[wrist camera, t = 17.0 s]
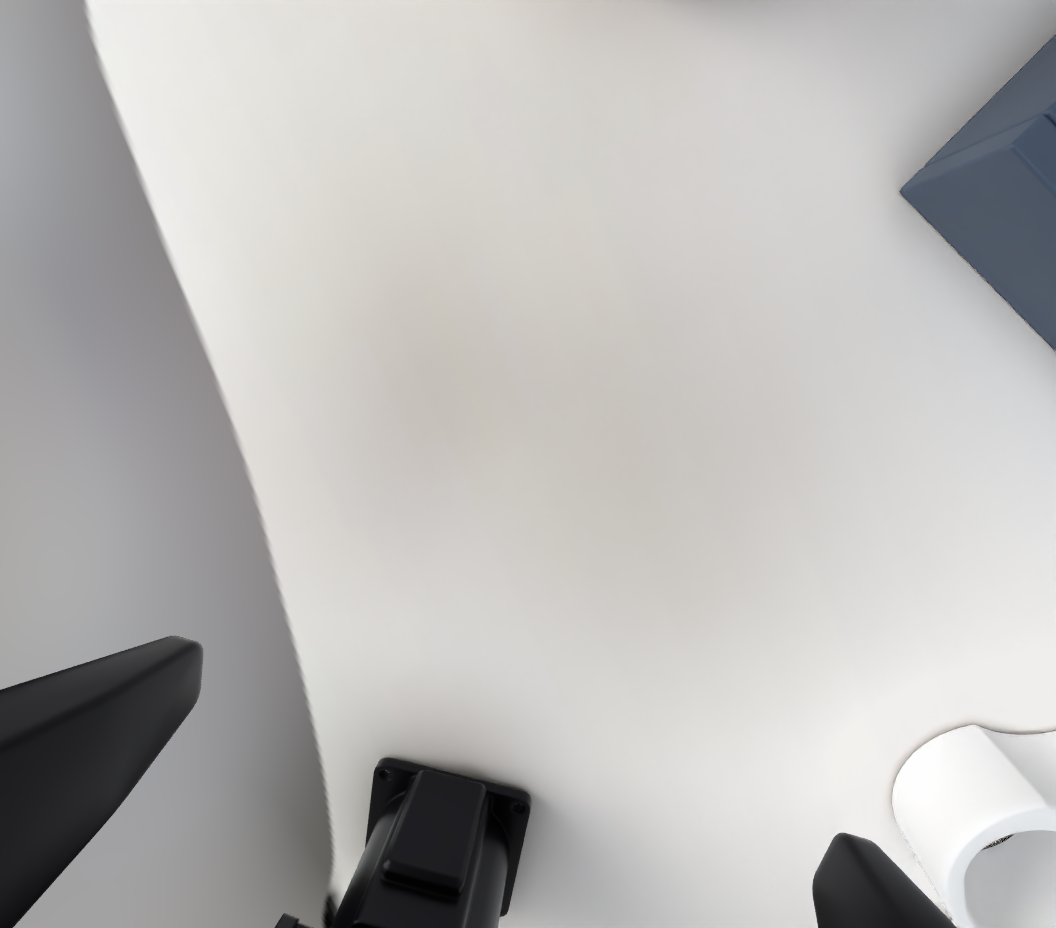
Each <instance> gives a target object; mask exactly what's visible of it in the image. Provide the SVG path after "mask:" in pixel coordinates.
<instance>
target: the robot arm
mask: <svg viewBox="0 0 1056 928" xmlns="http://www.w3.org/2000/svg"><path fill="white" fill-rule="evenodd" d="M202 664H203V648H202V645H201V644H200V643H198V642H196V641H193V640H189V639H186V638H183V637H179V636H170V637H166V638H163V639H159V640H156V641H153V642H150V643H147V644H144V645H140V646H137V647H134V648H131V649H128V650H125V651H121V652H118V653H115V654H112V655H109V656H106V657H103V658H99V659H96V660H93V661H90V662H87V663H84V664H80V665H77V666H74V667H71V668H68V669H65V670H61V671H58V672H55V673H52V674H49V675H46V676H43V677H39V678H36V679H33V680H30V681H27V682H24V683H20V684H17V685H14V686H11V687H8V688H5V689H2V690H0V928H13V927H14V926H15V925H16V924H17V922H18V921H19V920H20V919H21V918H22V917H23V916H24V915H25V913H26V912H27V911H28V910H29V909H30V908H31V907H32V906H33V904H34V903H35V902H36V901H37V900H38V899H39V898H40V897H41V895H42V894H43V893H44V892H45V891H46V890H47V889H48V888H49V886H50V885H51V884H52V883H53V882H54V881H55V880H56V878H57V877H58V876H59V875H60V874H61V873H62V872H63V871H64V869H65V868H66V867H67V866H68V865H69V864H70V863H71V862H72V860H73V859H74V858H75V857H76V856H77V855H78V854H79V853H80V851H81V850H82V849H83V848H84V847H85V846H86V845H87V843H88V842H89V841H90V840H91V839H92V838H93V837H94V836H95V835H96V833H97V832H98V831H99V830H100V829H101V828H102V826H103V825H104V824H105V823H106V822H107V821H108V819H109V818H110V817H111V816H112V815H113V813H114V812H115V811H116V810H117V809H118V807H119V806H120V805H121V803H122V802H123V801H124V800H125V798H126V797H127V796H128V795H129V793H130V792H131V791H132V789H133V788H134V787H135V785H136V784H137V783H138V781H139V780H140V779H141V777H142V776H143V775H144V773H145V772H146V770H147V769H148V768H149V766H150V765H151V764H152V762H153V761H154V760H155V758H156V757H157V756H158V754H159V753H160V752H161V750H162V749H163V748H164V746H165V745H166V744H167V742H168V741H169V740H170V738H171V737H172V735H173V734H174V733H175V732H176V730H177V729H178V727H179V726H180V725H181V723H182V722H183V721H184V719H185V718H186V717H187V715H188V714H189V713H190V711H191V710H192V709H193V707H194V705H195V704H196V702H197V699H198V697H199V694H200V689H201V677H202ZM385 770H387V771H389V772H390V773H389V772H386V771H385ZM515 803H519V804H521V805H517V804H515ZM530 808H531V798H530V796H529V795H528V794H527V793H526V792H524V791H521V790H517V789H513V788H509V787H505V786H501V785H497V784H493V783H489V782H485V781H481V780H477V779H473V778H469V777H465V776H461V775H457V774H453V773H449V772H445V771H441V770H437V769H433V768H429V767H425V766H421V765H417V764H413V763H409V762H405V761H401V760H397V759H393V758H383V759H381V760H380V761H379V762H378V764H377V766H376V768H375V771H374V776H373V784H372V793H371V802H370V810H369V819H368V828H367V836H366V845H365V851H364V853H363V855H362V857H361V860H360V862H359V864H358V866H357V869H356V871H355V873H354V875H353V878H352V880H351V882H350V884H349V887H348V889H347V891H346V893H345V896H344V898H343V900H342V903H341V905H340V907H339V909H338V912H337V914H336V916H335V918H334V921H333V923H332V925H331V927H330V928H498V923H499V918H500V917H502V916H504V915H506V914H507V912H508V909H509V905H510V900H511V896H512V891H513V887H514V882H515V877H516V873H517V868H518V864H519V859H520V855H521V850H522V846H523V841H524V837H525V832H526V828H527V823H528V819H529V814H530ZM812 889H813V900H814V906H815V912H816V917H817V923H818V928H957V927H956V926H955V925H954V924H953V923H952V922H951V921H950V920H949V919H948V918H947V917H946V916H945V915H944V914H943V913H942V911H941V910H940V909H939V908H938V907H937V906H936V905H935V904H934V903H933V902H932V901H931V900H930V899H929V898H928V897H927V896H926V895H925V894H924V893H923V892H922V891H921V890H920V889H919V888H918V887H917V886H916V885H915V884H914V883H913V882H912V881H911V880H910V879H909V878H908V876H907V875H906V874H905V873H904V872H903V871H902V870H901V869H900V868H899V867H898V866H897V865H896V864H895V863H894V862H893V861H892V860H891V859H890V858H889V857H888V856H887V855H886V854H885V853H884V852H883V851H882V850H881V849H880V848H879V847H878V846H877V845H876V844H875V843H873V842H872V841H870V840H868V839H864V838H861V837H858V836H854V835H851V834H847V833H839V834H837V835H836V836H835V837H834V838H833V840H832V842H831V844H830V846H829V848H828V850H827V852H826V853H825V855H824V857H823V859H822V861H821V863H820V865H819V867H818V869H817V871H816V873H815V875H814V879H813V887H812ZM275 928H313V927H310V926H307V925H305V924H302V923H299V918H296V917H294V916H290V915H288V914H285V913H284V914H283V915H282V917H281V919H280V920H279V922H278V923H277V925H276V927H275Z"/></svg>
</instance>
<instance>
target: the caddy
mask: <svg viewBox="0 0 1056 928" xmlns="http://www.w3.org/2000/svg"><path fill="white" fill-rule="evenodd" d="M900 193H901V194H902V195H903V196H904V197H905V198H906V199H907V200H908V201H909V202H910V203H911V204H912V205H913V206H914V207H915V208H916V209H917V210H918V211H919V212H920V213H921V214H922V215H923V216H924V217H925V219H926V220H927V221H928V222H929V223H930V224H931V225H932V226H933V227H934V228H935V229H936V230H937V231H938V232H939V233H940V234H941V235H942V236H943V237H944V238H945V239H946V240H947V241H948V242H949V243H950V244H951V245H952V246H953V247H954V248H955V249H956V250H957V251H958V252H959V253H960V254H961V255H962V256H963V257H964V258H965V259H966V260H967V261H968V262H969V263H970V264H971V265H972V266H973V267H974V268H975V269H976V270H977V271H978V272H979V273H980V274H981V275H982V276H983V277H984V278H985V279H986V280H987V281H988V282H989V283H990V284H991V286H992V287H993V288H994V289H995V290H996V291H997V292H998V293H999V294H1000V295H1001V296H1002V297H1003V298H1004V299H1005V300H1006V301H1007V302H1008V303H1009V304H1010V305H1011V306H1012V307H1013V308H1014V309H1015V310H1016V311H1017V312H1018V313H1019V314H1020V315H1021V316H1022V317H1023V318H1024V319H1025V320H1026V321H1027V322H1028V323H1029V324H1030V325H1031V326H1032V327H1033V328H1034V329H1035V330H1036V331H1037V332H1038V333H1039V334H1040V335H1041V336H1042V337H1043V338H1044V339H1045V340H1046V341H1047V342H1048V343H1049V344H1050V345H1051V346H1052V347H1053V348H1054V349H1055V350H1056V35H1055V36H1054V37H1053V38H1052V39H1051V40H1050V41H1049V42H1048V43H1047V44H1046V45H1045V46H1044V47H1043V48H1042V49H1041V50H1040V51H1039V52H1038V53H1037V54H1036V55H1035V56H1034V57H1033V58H1032V59H1031V60H1030V61H1029V62H1028V63H1027V64H1026V65H1025V66H1024V67H1023V68H1022V69H1021V70H1020V71H1019V72H1018V73H1017V74H1016V75H1015V76H1014V77H1013V78H1012V79H1011V80H1010V81H1009V82H1008V83H1007V84H1006V85H1005V86H1004V87H1003V88H1002V89H1001V90H1000V91H999V92H998V93H997V94H996V95H995V96H994V97H993V98H992V99H991V100H990V101H989V102H988V103H987V104H986V105H985V106H984V107H983V108H982V109H981V110H980V111H979V112H978V113H977V114H976V115H975V116H974V117H973V118H972V119H971V120H970V121H969V122H968V123H967V124H966V125H965V126H964V127H963V128H962V129H961V130H960V131H959V132H958V133H957V134H956V135H955V136H954V137H953V138H952V139H951V140H950V141H949V142H948V143H947V144H946V145H945V146H944V147H943V148H942V149H941V150H940V151H939V152H938V153H937V154H936V155H935V156H934V157H933V158H932V159H931V160H930V161H929V162H928V163H927V164H926V165H925V168H923V169H921V170H920V171H919V172H918V173H917V174H916V175H915V176H914V177H913V178H912V179H911V180H910V181H909V182H908V183H907V184H906V185H905V186H904V187H903V188H902V189H901V190H900Z"/></svg>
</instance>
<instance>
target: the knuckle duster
mask: <svg viewBox="0 0 1056 928" xmlns="http://www.w3.org/2000/svg"><path fill="white" fill-rule="evenodd" d="M892 806H893V812H894V816H895V819H896V822H897V824H898V827H899V829H900V831H901V832H902V834H903V836H904V838H905V839H906V841H907V843H908V844H909V846H910V848H911V850H912V851H913V853H914V855H915V857H916V858H917V860H918V862H919V864H920V865H921V867H922V869H923V871H924V872H925V874H926V876H927V878H928V879H929V881H930V883H931V885H932V886H933V888H934V890H935V891H936V893H937V895H938V897H939V898H940V900H941V902H942V904H943V905H944V907H945V909H946V910H947V912H948V913H949V915H950V916H951V918H952V920H951V922H952V923H953V924H954V925H955V926H956V927H957V928H1056V731H1052V732H1047V733H1041V734H1031V735H1014V734H1004V733H999V732H994V731H991V730H987V729H984V728H982V727H979V726H977V725H969V726H965V727H961V728H957V729H954V730H951V731H948V732H946V733H944V734H941V735H939V736H937V737H935V738H934V739H932V740H930V741H929V742H927V743H925V744H924V745H923V746H921V747H920V748H919V749H918V750H916V751H915V752H914V753H913V754H912V755H911V756H910V757H909V759H908V760H907V761H906V762H905V764H904V765H903V766H902V768H901V770H900V771H899V773H898V776H897V778H896V781H895V784H894V787H893V794H892ZM1011 834H1014V835H1013V836H1012V837H1010V838H1009V839H1007V840H1006V841H1004V842H1002V843H1000V844H998V845H996V846H993V847H990V848H987V849H983V848H984V847H986V846H987V845H989V844H990V843H992V842H994V841H996V840H998V839H1000V838H1002V837H1005V836H1008V835H1011Z"/></svg>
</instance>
